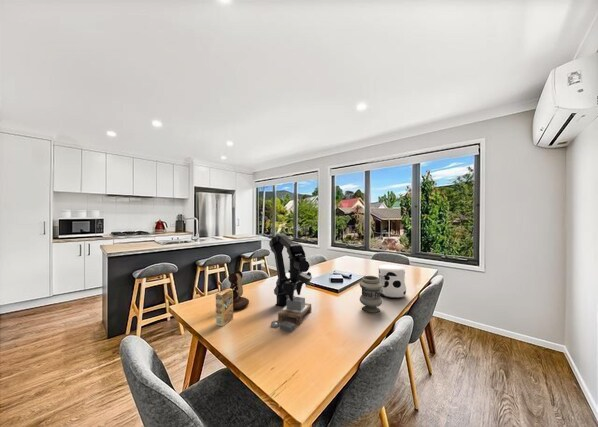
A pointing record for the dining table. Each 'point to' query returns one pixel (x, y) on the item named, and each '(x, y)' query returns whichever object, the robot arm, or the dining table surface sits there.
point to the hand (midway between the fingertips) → (295, 297)
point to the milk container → (392, 281)
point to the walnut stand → (294, 313)
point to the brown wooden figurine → (237, 290)
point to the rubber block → (287, 326)
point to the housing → (296, 303)
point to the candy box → (224, 307)
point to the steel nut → (275, 324)
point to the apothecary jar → (371, 294)
